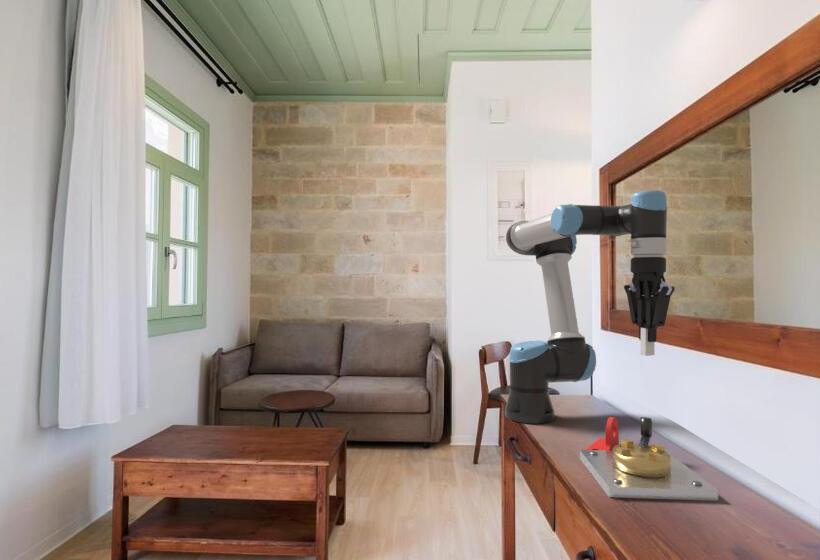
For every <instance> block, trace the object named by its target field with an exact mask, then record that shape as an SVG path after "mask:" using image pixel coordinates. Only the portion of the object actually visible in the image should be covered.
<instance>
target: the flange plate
mask: <svg viewBox="0 0 820 560" xmlns="http://www.w3.org/2000/svg"><path fill="white" fill-rule="evenodd" d="M666 452H667V453H668V454H669V455H670V457H671V473H670V474H669V475H667V476H663V477H644V476H638V475H634V474H630V473H627V472H624V471H622V470H620V469H618V468H617V467H615V466H614V464H613V451H605V450H586V449H580V450H579V459H580V460H581V462H582V463H583V464H584V466H585V467H586V469H587V470H588V471H589V472H590V473H592V474H591V475H592V477H593V478H594V479H595V480H596V481H597V483H598V484H599V486H600V487H601V489H602V490H603V492H605V494H606V496H607V497H608V498H617V499H618V498H619V499H623V498H624V499H647V500H648V499H649V500H650V499H651V500H675V501H676V500H679V501H680V500H681V501H710V502H712V501H713V502H714V501H715V502H719V490H718V489H717V488H716V487H715V486H713V485H712V484H711V483H709V482H708V481H707V480H705V479H704V478H702V477H701V476H700V475H699V474H697V473H696V472H694V471H693V470H692V469H691V468H689V467H688V466H687V465H685V464H684V463H683V462H681V460H679V459H677V458H676V457H675V456H674V455H672V454H671V453H670V452H668V451H666Z"/></svg>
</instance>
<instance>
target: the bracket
mask: <svg viewBox="0 0 820 560" xmlns="http://www.w3.org/2000/svg"><path fill="white" fill-rule="evenodd" d="M619 429H620V428H619V421H618V418H617V417H613V416H610V417H608V419H607V421H606V424H605V438H604V437H599V438H598V439H597V440H596V441H595V442H593V443H592V444H591V445H589V446H588V447H587V448H585V450H605V451H613V447H614V446H616V445H619V444H620V440H619V433H620V432H619V431H620V430H619Z"/></svg>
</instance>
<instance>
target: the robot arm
mask: <svg viewBox="0 0 820 560" xmlns="http://www.w3.org/2000/svg"><path fill="white" fill-rule="evenodd" d="M667 204H668V203H667V195H666V193H665V192H664V191H662V190H642V191H637V192H634V193H633V194H632V195H631V198H630V203H629V204H625V205H624V204H623V205H587V204H573V203H568V204H560V205H557V206H556V207H554V209H553V211H552V213H550V214H547V215H544V216H540V217H538V218H535V219H532V220H530V221H529V220H520V221H517V222H515V223H513V224H511V226H509V227H508V229H507V231H506V233H505V234H506V235H505V240H506V244H507V246H508V247H509V249H510V250H511V251H513V252H514V253H516V254H518V255H522V256H534V257H535V261H536V264H537V265H539V266H540V267H541V271H542V272H541V273H542V278H543V279H542V280H543V286H544V292H545V293H544V294H545V300H546V306H547V314H548V320H549V327H550V336H549V338H548V339H547V341H544V340H528V341H522V342H521V341H520V342H517V343H515V344H513V345H512V346H511V347H510V351H509V383H510V384H509V395H508V397H507V401H506V403H505V406H504V407H505V408H504V417H505V418H506V419H508V420H511V421H514V422H517V423H518V422H519V423H523V424H546V423H550V422H552V421H553V422H554V420H555V417H556V416H555V415H556V413H555V408H554V405H553V403H552V400H551V397H550V393H549V383H566V382H567V383H568V382H573V383H576V382H581V381H582V382H584V381H587V380H589V379H590V378H591V377H593V374H594V372H595V370H596V367H597V355H596V352H595V351H596V350H595V349H593V348H594V347H593V346H592V345H591V344H590V343H589V344H588V343H586V338H585V336H584V335H582V334H581V333H580V332H579V327H578V319H577V314H576V313H577V312H576V307H575V299H574V293H573V287H572V282H571V281H572V279H571V275H570V269H569V261H570V260H572V259H573V258H572V255H573V254H574V253H575V252H576V250H577V245H578V243H577V241H578V240H577V236H578V235H580V236H582V235H583V236H587V235H588V236H589V235H591V236H592V235H593V236H595V235H596V236H607V237H621V236H625V235H626V236H627V235H630V255H631V256H633V257H632V258H630V272H631V273H632V278H631V282H630V283H629V284H624V285H623V289H624V291H625V293H626V295H627V303H628V308H629V313H630V319H631V323H632V324H633V325H636V326H637V327H638V339H639V341H640V356H645V357H648V356H655V343H656V342H657V330H658V328H660V327H664V326H665V324H666V320H667V315H668V311H669V306H670V302H671V297H672V295H673V293H674V292H675V286H673V285H672V286H671V285H669V284H667V283H666V278H665V276H664V274H665V273H666V272H667V258H666V257H664V256H665V255H666V254H667V221H668V219H667V215H668V214H667V212H668V206H667Z"/></svg>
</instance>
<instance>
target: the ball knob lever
mask: <svg viewBox="0 0 820 560" xmlns="http://www.w3.org/2000/svg"><path fill="white" fill-rule="evenodd" d="M652 419H653V418H651V417H648V416H642V417H641V416H640V436H641V437H640V440H639V443H634V441H633V440H631V439H629V438H621V439H620V443H619V445H616V446H614V447H613V464H614V466H615V467H617V468H618V469H620V470H622V471H624V472H627V473H630V474H634V475H638V476H644V477H663V476H667V475H669V474H670V473H671V457H670V455H669V454H668V453H669V452H668V451H666V447H665V446H666V445H664V444H661V443H652V437H653V420H652ZM667 452H668V453H667Z"/></svg>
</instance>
